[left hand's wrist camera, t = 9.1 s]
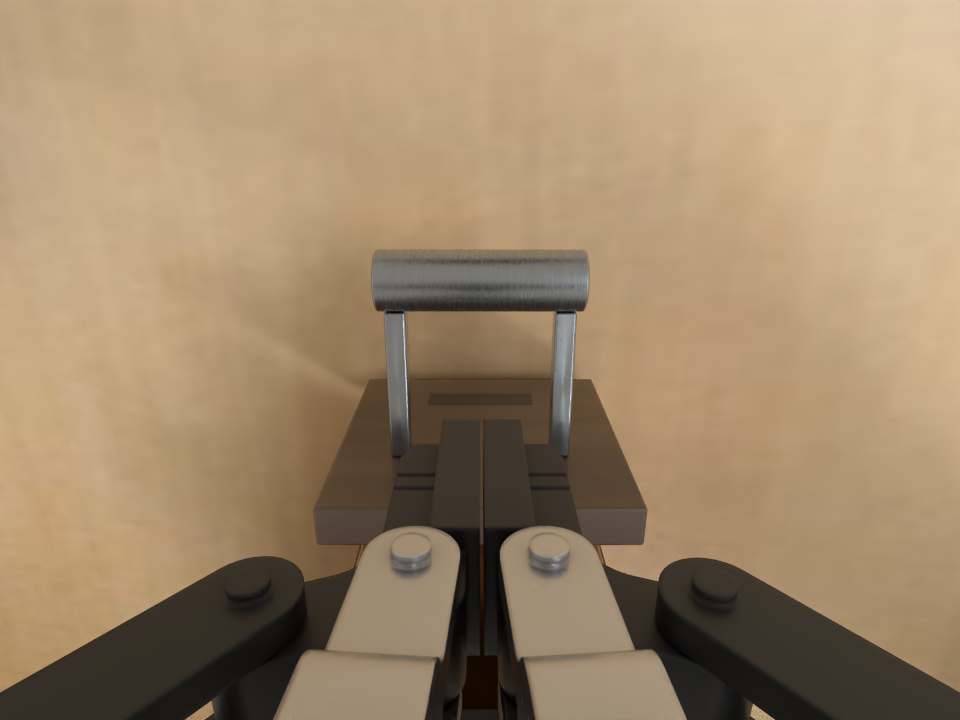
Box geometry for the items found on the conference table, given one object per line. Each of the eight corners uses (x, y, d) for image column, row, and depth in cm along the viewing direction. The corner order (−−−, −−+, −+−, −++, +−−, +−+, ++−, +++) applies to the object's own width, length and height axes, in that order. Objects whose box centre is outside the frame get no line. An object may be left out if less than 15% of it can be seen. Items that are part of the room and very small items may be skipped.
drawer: (358, 219, 23) (286, 274, 14) (602, 219, 23) (673, 274, 14) (393, 744, 32) (361, 967, 24) (567, 744, 32) (598, 967, 24)
